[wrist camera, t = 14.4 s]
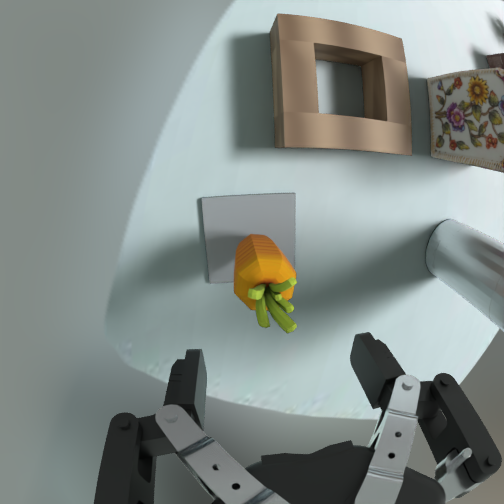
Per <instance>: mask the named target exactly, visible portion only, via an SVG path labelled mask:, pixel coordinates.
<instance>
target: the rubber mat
mask: <svg viewBox="0 0 504 504" xmlns="http://www.w3.org/2000/svg"><path fill="white" fill-rule="evenodd" d="M202 210H203V222H204V233H205V243H206V253H207V263H208V272H209V281H210V284H213V283H229V282H234V265H235V255H236V249H237V247H238V245H239V243H240V242H241V241H242V240H243V239H245V238H246V237H247V236H248V235H250V234H258V235H265V236H267V237H269V238H270V239H271V240H273V242H274V243H275V244H276V245H277V247H278V248H279V249H280V250H281V251H282V253H283V254H284V255H285V257H286V258H287V259H288V261H289V262H290V264H291V265H292V267H293V268H294V269H295V193H270V194H248V195H230V196H215V197H202Z"/></svg>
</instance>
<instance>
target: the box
mask: <svg viewBox="0 0 504 504" xmlns="http://www.w3.org/2000/svg"><path fill="white" fill-rule="evenodd" d="M486 57H487V61H488V64H489V68H499V67H500V68H502V69H503V70H504V53H500V54H494V55H487V56H486Z"/></svg>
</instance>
